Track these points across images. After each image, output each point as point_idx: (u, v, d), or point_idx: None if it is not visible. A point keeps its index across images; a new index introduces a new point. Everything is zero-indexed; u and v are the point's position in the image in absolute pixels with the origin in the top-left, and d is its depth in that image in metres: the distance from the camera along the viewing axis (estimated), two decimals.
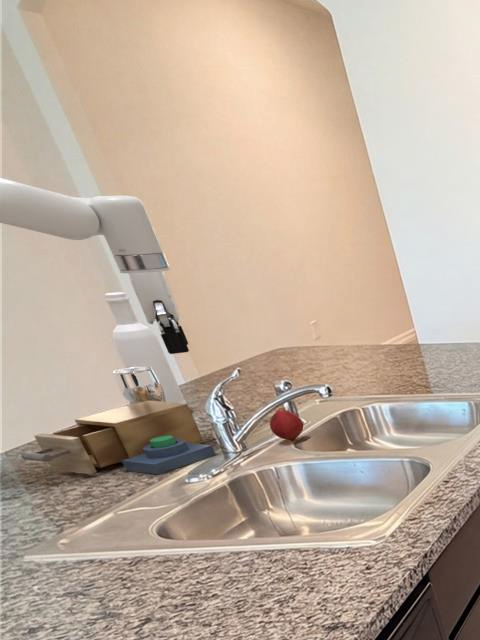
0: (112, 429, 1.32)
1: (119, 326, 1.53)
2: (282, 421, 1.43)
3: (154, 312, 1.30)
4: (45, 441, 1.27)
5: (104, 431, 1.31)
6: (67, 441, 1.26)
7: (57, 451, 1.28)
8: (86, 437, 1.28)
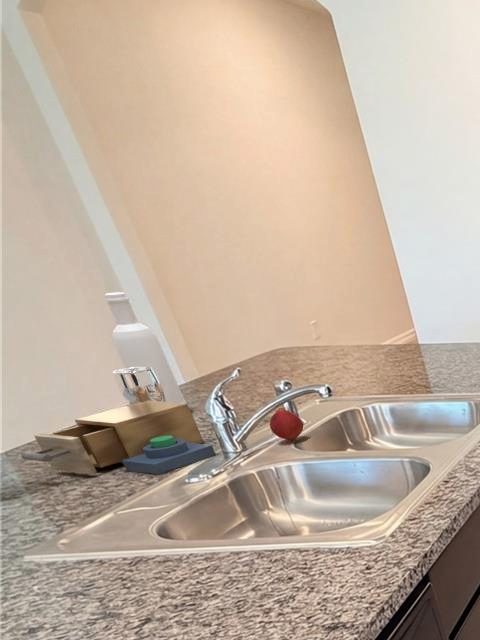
0: (112, 429, 1.32)
1: (119, 326, 1.53)
2: (282, 421, 1.43)
3: None
4: (45, 441, 1.27)
5: (104, 431, 1.31)
6: (67, 441, 1.26)
7: (57, 451, 1.28)
8: (86, 437, 1.28)
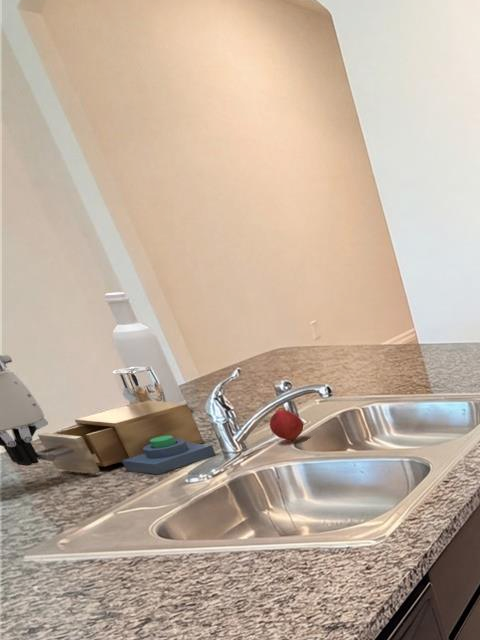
0: None
1: (119, 326, 1.53)
2: (282, 421, 1.43)
3: None
4: (49, 440, 1.28)
5: (107, 430, 1.31)
6: (70, 441, 1.26)
7: (60, 450, 1.28)
8: (89, 436, 1.28)
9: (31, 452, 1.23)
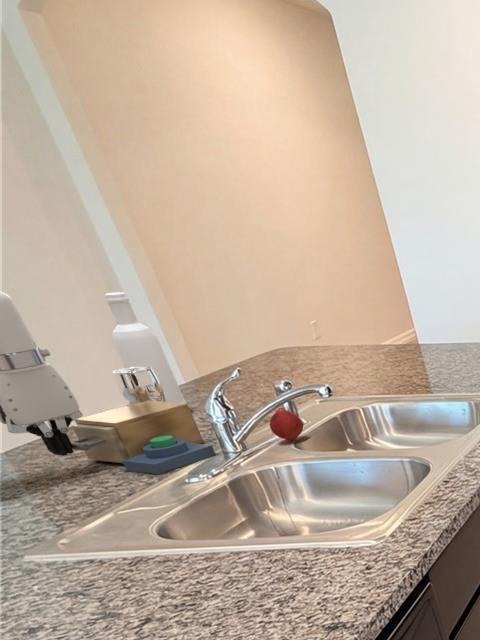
0: None
1: (119, 326, 1.53)
2: (282, 421, 1.43)
3: None
4: (82, 431, 1.33)
5: None
6: (104, 431, 1.31)
7: (93, 441, 1.33)
8: None
9: (67, 442, 1.27)
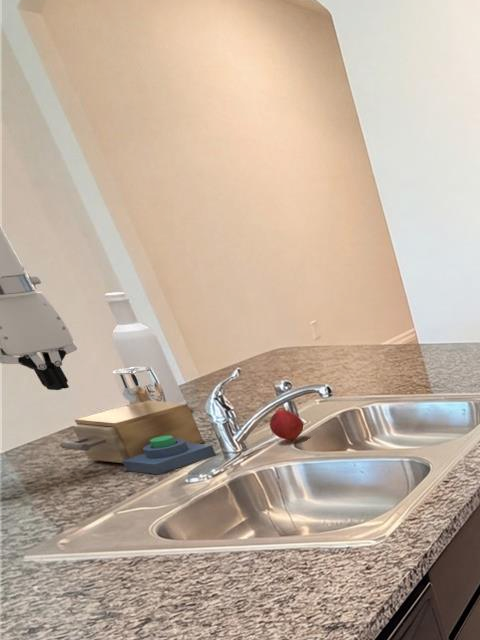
0: None
1: (119, 326, 1.53)
2: (282, 421, 1.43)
3: None
4: (82, 431, 1.33)
5: None
6: (104, 431, 1.31)
7: (93, 441, 1.33)
8: None
9: (61, 376, 1.22)
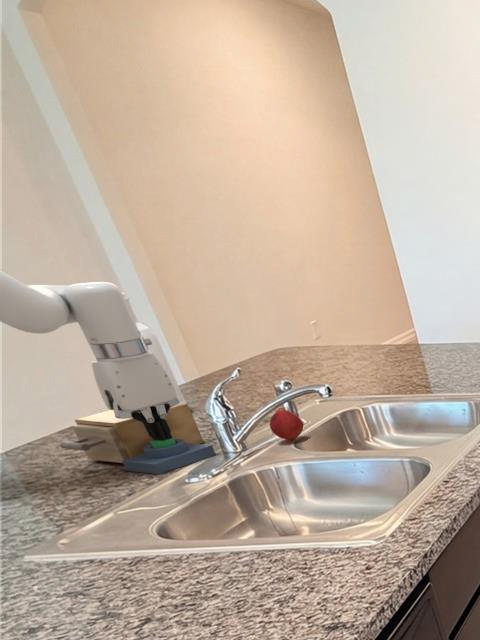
0: None
1: None
2: (282, 421, 1.43)
3: (107, 401, 1.25)
4: (82, 431, 1.33)
5: None
6: (104, 431, 1.31)
7: (93, 441, 1.33)
8: None
9: (166, 428, 1.33)
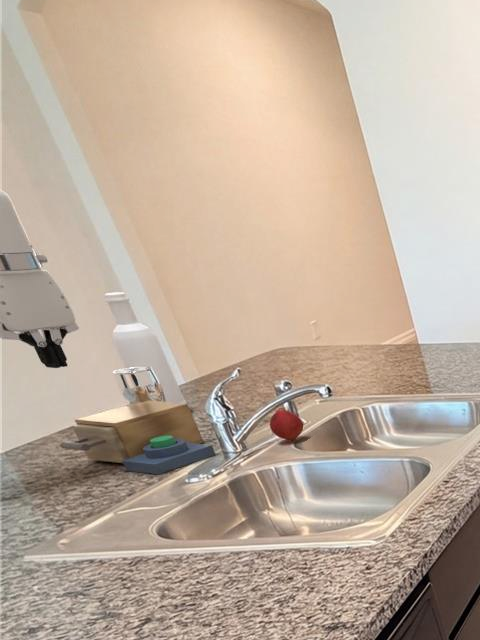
0: None
1: (119, 326, 1.53)
2: (282, 421, 1.43)
3: None
4: (82, 431, 1.33)
5: None
6: (104, 431, 1.31)
7: (93, 441, 1.33)
8: None
9: (61, 355, 1.22)
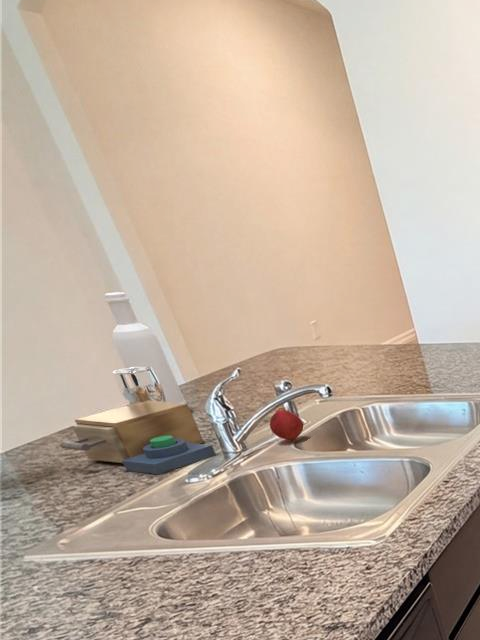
0: None
1: (119, 326, 1.53)
2: (282, 421, 1.43)
3: None
4: (82, 431, 1.33)
5: None
6: (104, 431, 1.31)
7: (93, 441, 1.33)
8: None
9: None
